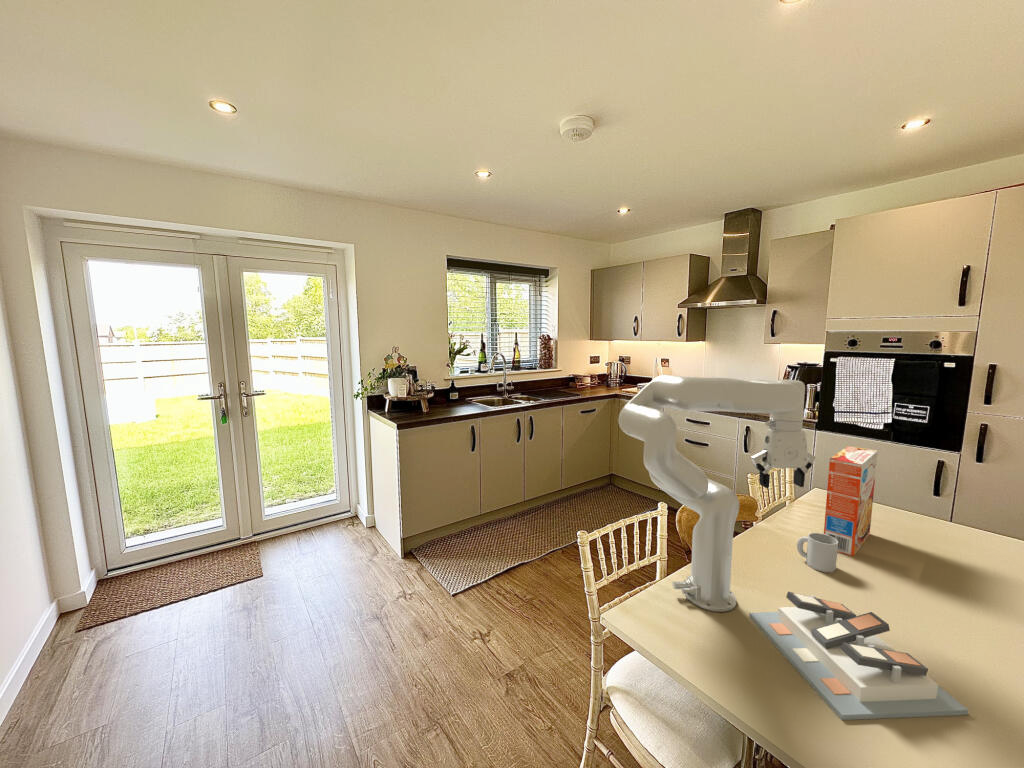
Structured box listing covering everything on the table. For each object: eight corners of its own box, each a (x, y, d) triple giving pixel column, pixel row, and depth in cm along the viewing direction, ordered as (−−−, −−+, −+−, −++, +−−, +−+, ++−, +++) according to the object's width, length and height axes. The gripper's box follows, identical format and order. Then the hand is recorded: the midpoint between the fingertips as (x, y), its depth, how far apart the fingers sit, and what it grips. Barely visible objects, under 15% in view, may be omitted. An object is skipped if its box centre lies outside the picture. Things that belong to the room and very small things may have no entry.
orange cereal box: (853, 556, 130) (862, 464, 127) (822, 546, 137) (829, 458, 133) (869, 533, 145) (877, 450, 142) (841, 525, 151) (847, 446, 148)
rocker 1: (798, 608, 95) (800, 601, 95) (786, 597, 99) (788, 590, 98) (854, 621, 96) (856, 614, 95) (839, 609, 100) (842, 603, 99)
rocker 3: (858, 664, 79) (860, 657, 79) (840, 649, 83) (843, 641, 83) (925, 676, 80) (928, 668, 79) (905, 659, 84) (908, 652, 83)
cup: (833, 576, 120) (835, 547, 119) (792, 562, 127) (794, 535, 126) (838, 566, 125) (840, 538, 124) (798, 554, 132) (800, 527, 131)
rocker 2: (826, 649, 87) (824, 642, 87) (811, 635, 91) (810, 628, 91) (889, 630, 87) (888, 623, 87) (872, 617, 91) (871, 611, 91)
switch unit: (841, 719, 76) (844, 684, 75) (749, 616, 103) (750, 589, 103) (968, 714, 76) (972, 679, 75) (842, 613, 104) (845, 586, 103)
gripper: (763, 428, 108) (759, 491, 110) (827, 427, 109) (822, 490, 111) (746, 422, 116) (742, 481, 118) (806, 421, 116) (801, 480, 118)
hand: (781, 485), depth 114 cm, fingers open, 9 cm apart
